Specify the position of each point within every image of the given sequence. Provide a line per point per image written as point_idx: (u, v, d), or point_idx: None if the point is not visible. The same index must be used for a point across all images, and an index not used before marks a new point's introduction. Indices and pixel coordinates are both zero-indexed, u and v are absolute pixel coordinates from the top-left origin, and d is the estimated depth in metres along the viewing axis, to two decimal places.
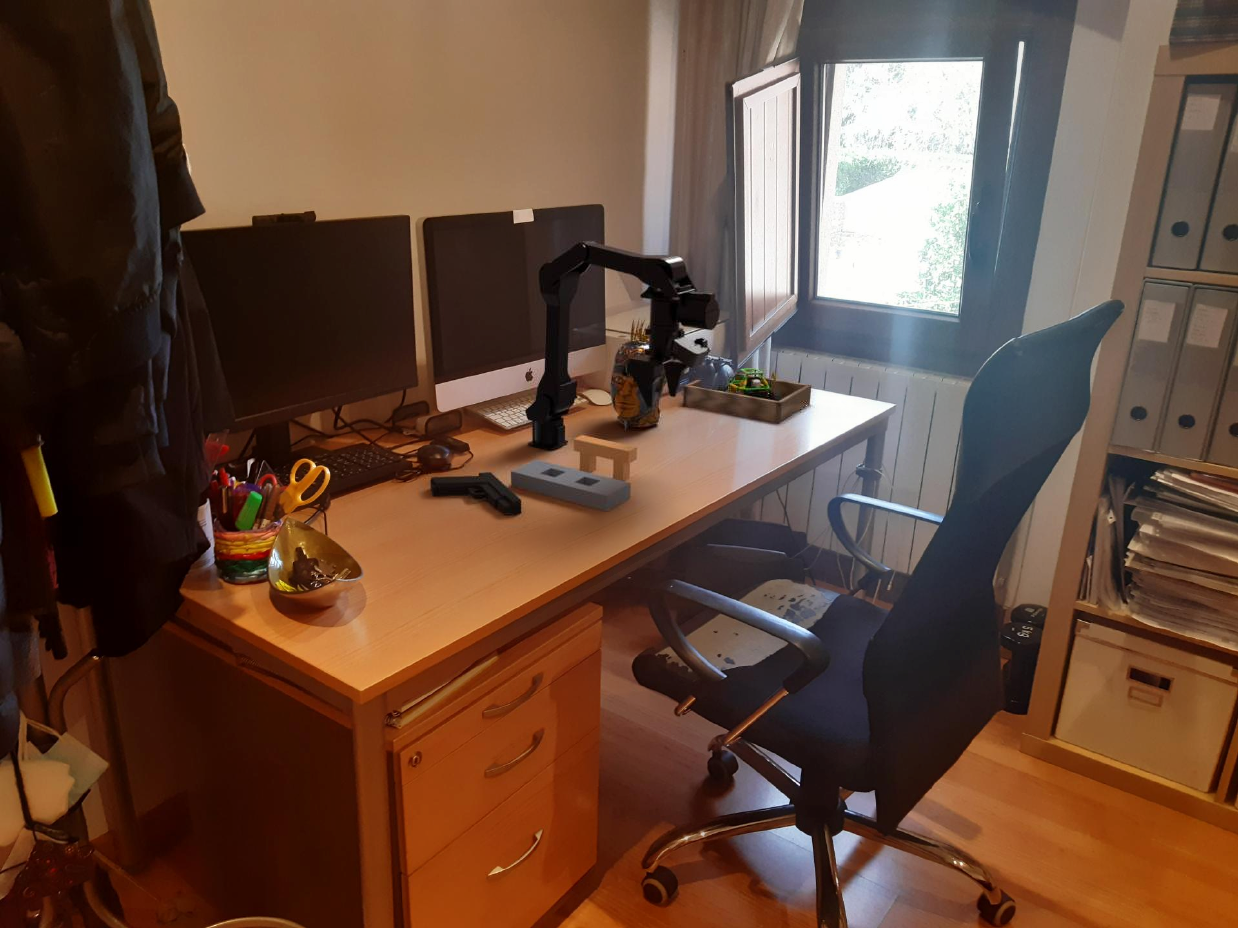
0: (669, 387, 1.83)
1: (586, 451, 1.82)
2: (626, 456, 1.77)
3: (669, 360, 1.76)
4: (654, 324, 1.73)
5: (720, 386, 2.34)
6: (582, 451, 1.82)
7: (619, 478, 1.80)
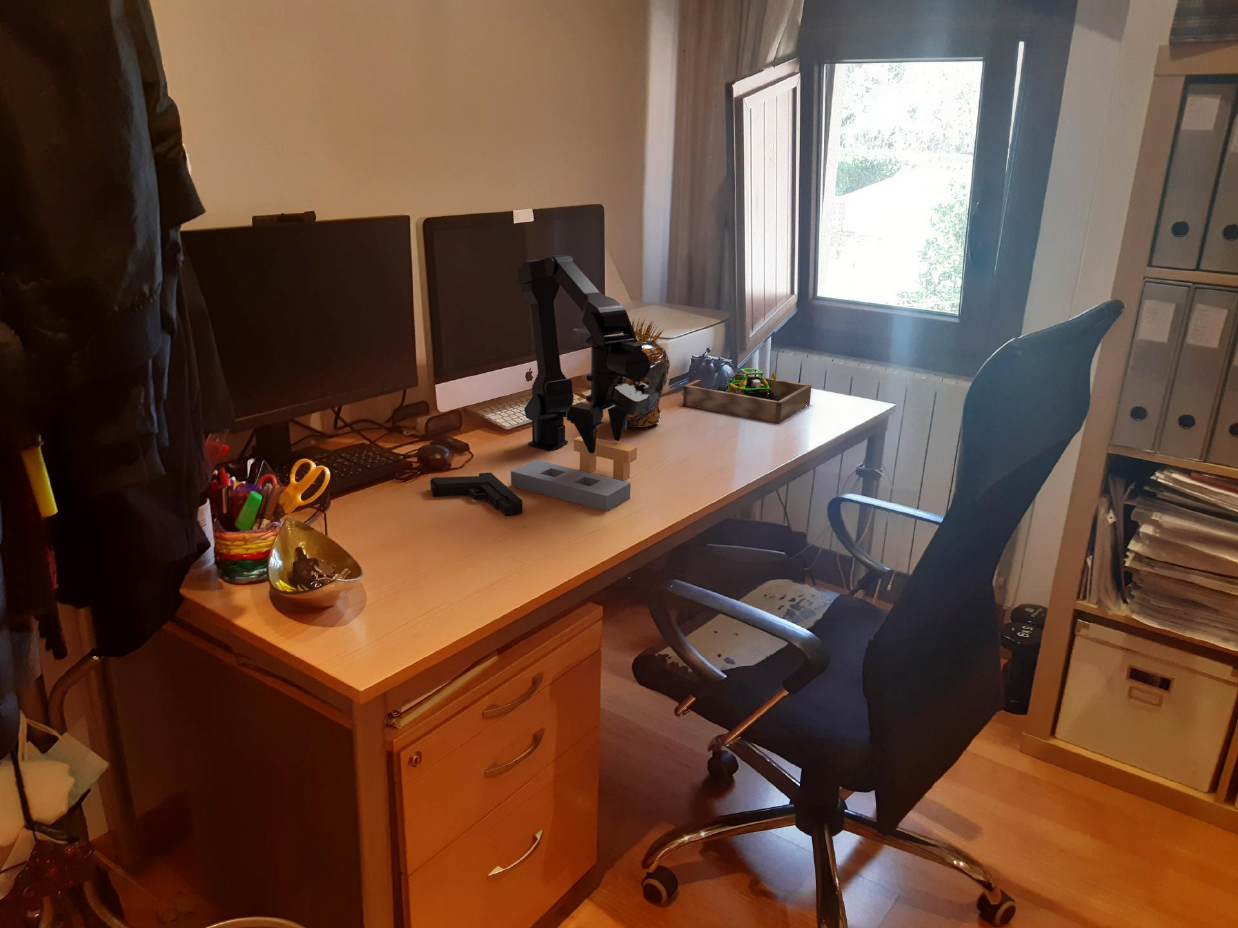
0: (613, 431, 1.84)
1: (586, 451, 1.82)
2: (626, 456, 1.77)
3: (611, 406, 1.77)
4: (595, 371, 1.74)
5: (720, 386, 2.34)
6: (582, 451, 1.82)
7: (619, 478, 1.80)
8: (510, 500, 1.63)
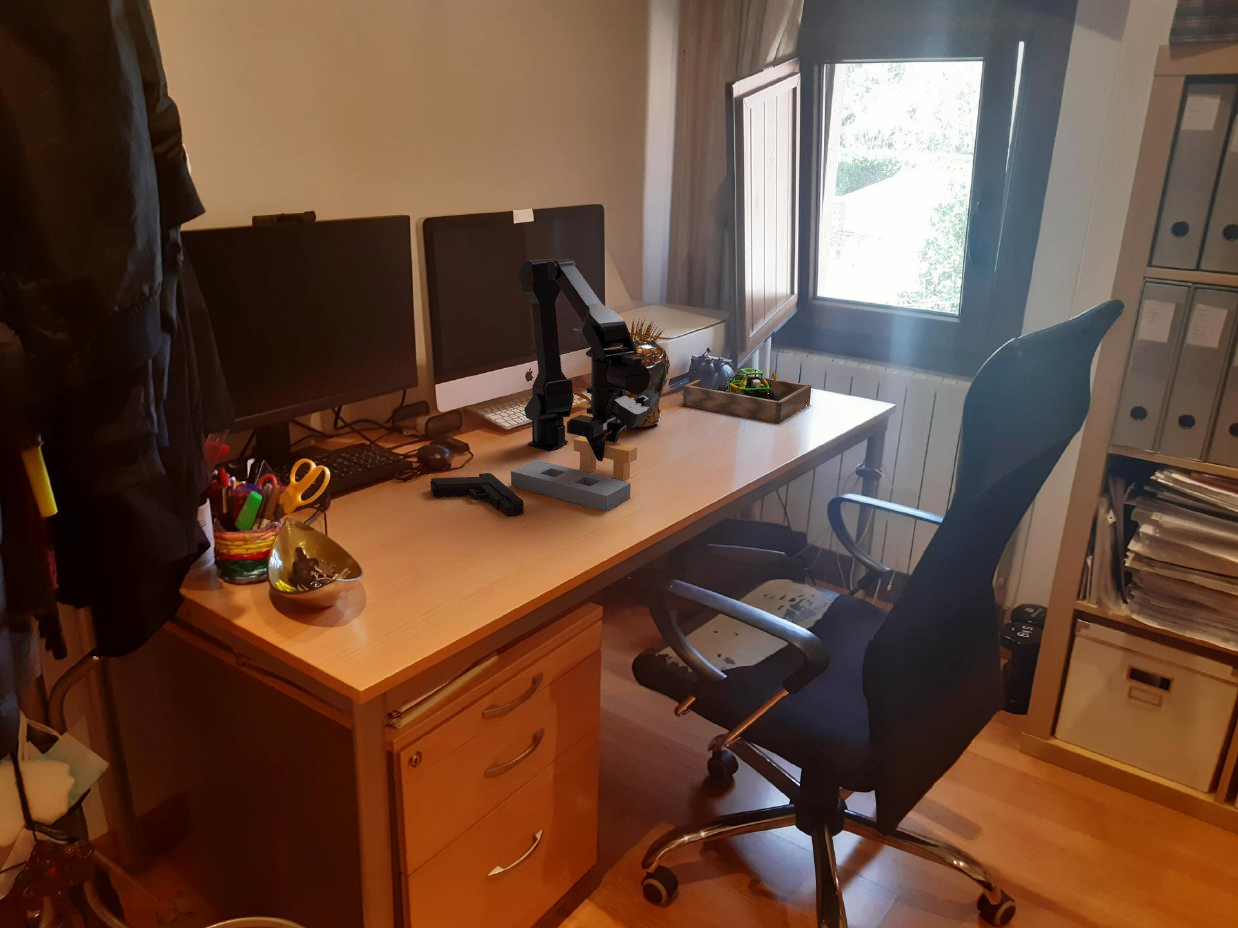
0: None
1: (586, 451, 1.82)
2: (627, 456, 1.77)
3: None
4: (595, 384, 1.75)
5: (720, 386, 2.34)
6: (582, 451, 1.82)
7: (620, 478, 1.80)
8: (511, 500, 1.63)
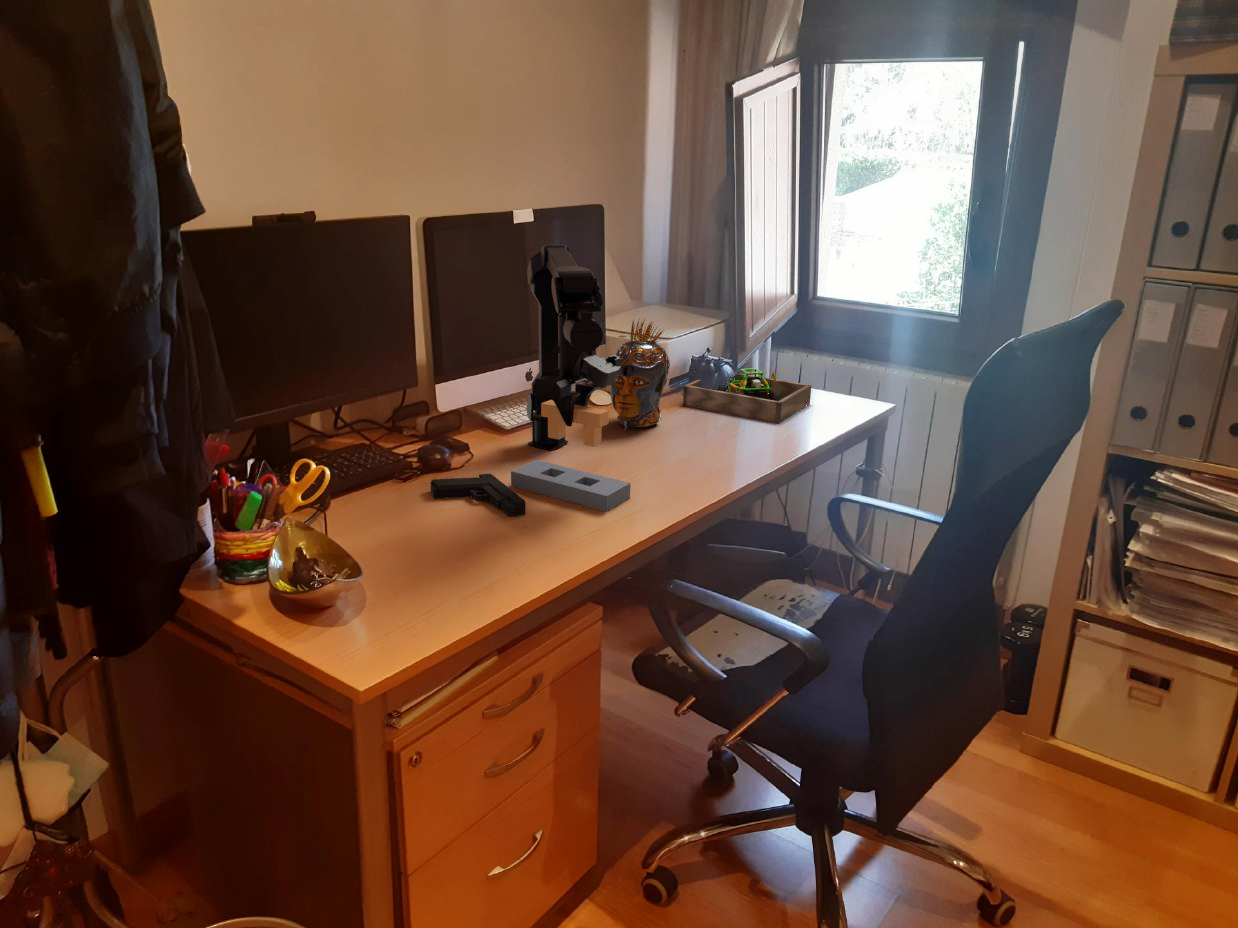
0: None
1: (555, 415, 1.69)
2: (597, 419, 1.64)
3: None
4: (562, 342, 1.62)
5: (720, 386, 2.34)
6: (550, 416, 1.70)
7: (590, 444, 1.67)
8: (513, 501, 1.63)
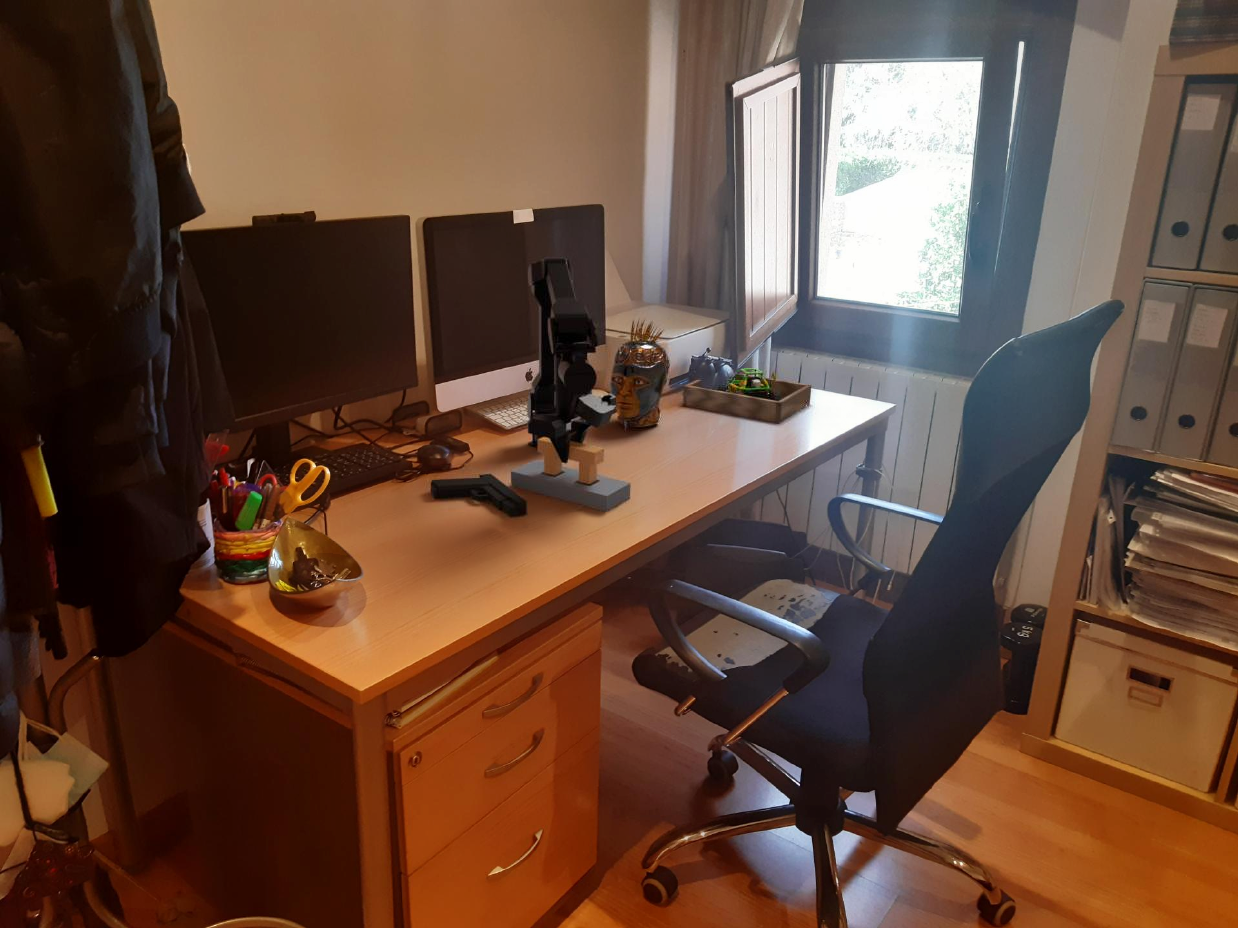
0: None
1: (551, 452, 1.71)
2: (592, 457, 1.66)
3: None
4: (558, 381, 1.64)
5: (720, 386, 2.34)
6: (546, 452, 1.72)
7: (585, 481, 1.69)
8: (514, 501, 1.63)
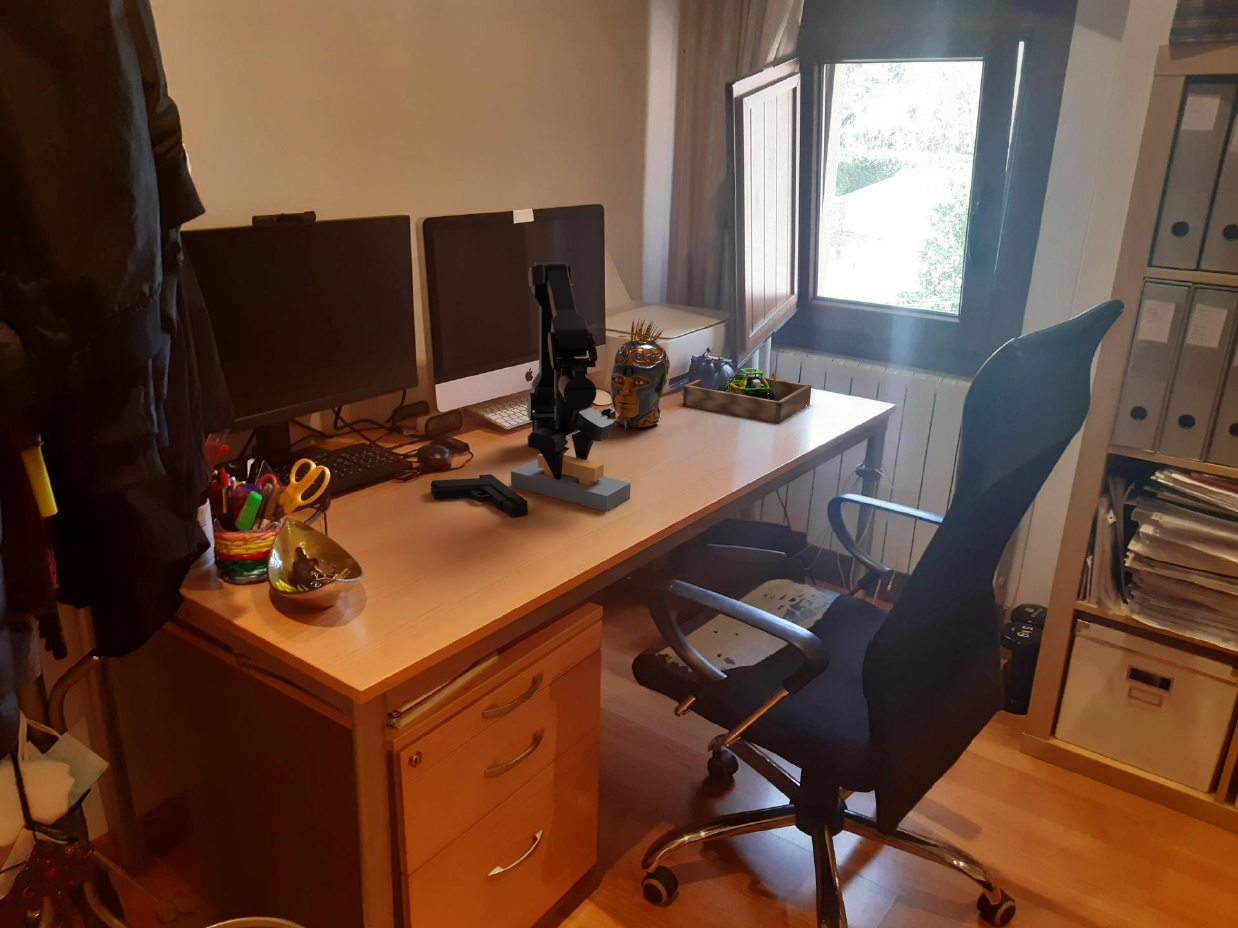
0: None
1: None
2: (592, 473, 1.67)
3: (578, 430, 1.68)
4: (558, 395, 1.65)
5: (720, 386, 2.34)
6: (547, 468, 1.73)
7: None
8: (515, 501, 1.63)
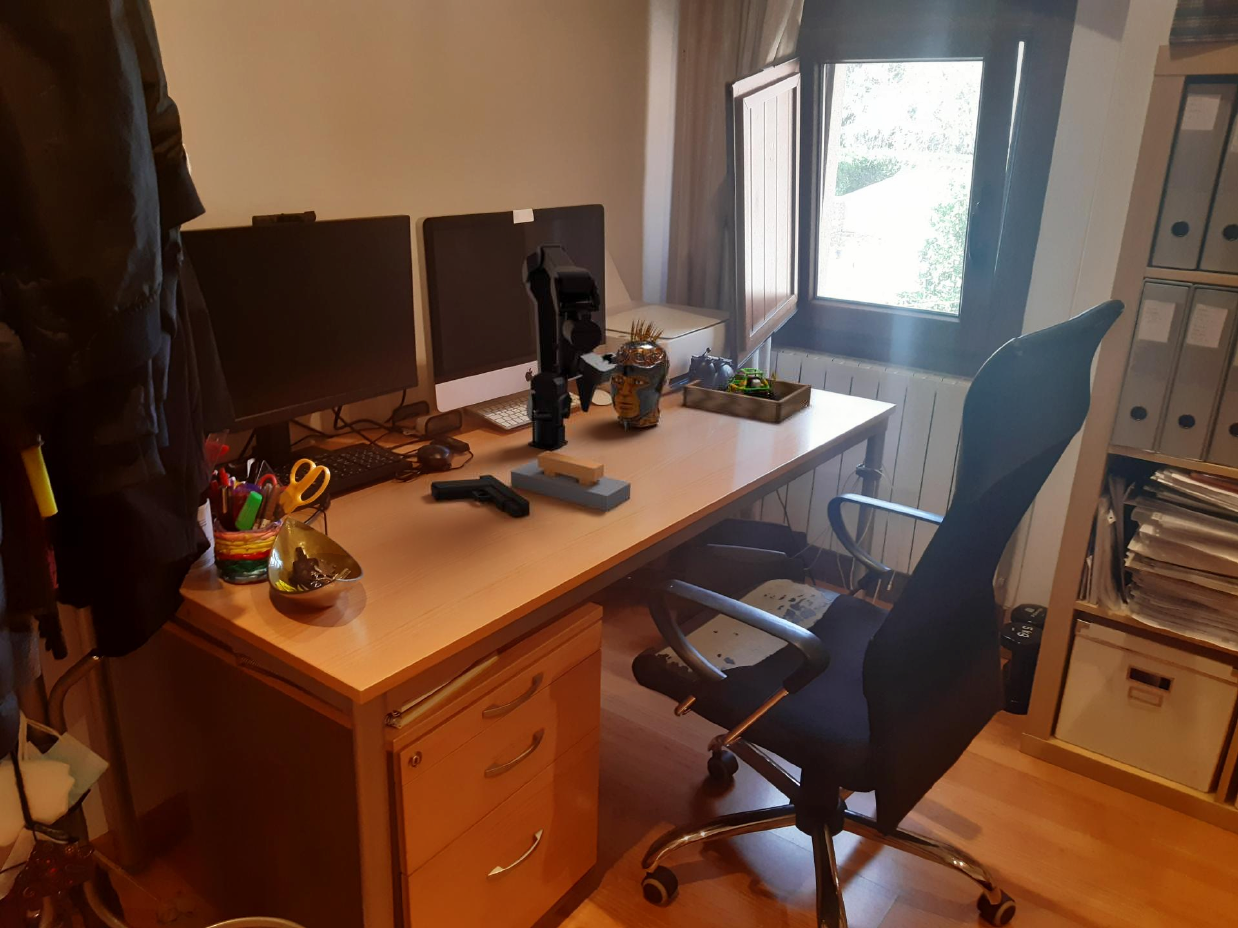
0: (581, 402, 1.79)
1: (551, 467, 1.72)
2: (592, 473, 1.67)
3: (577, 376, 1.71)
4: (560, 339, 1.68)
5: (720, 386, 2.34)
6: (547, 468, 1.73)
7: None
8: (517, 501, 1.62)
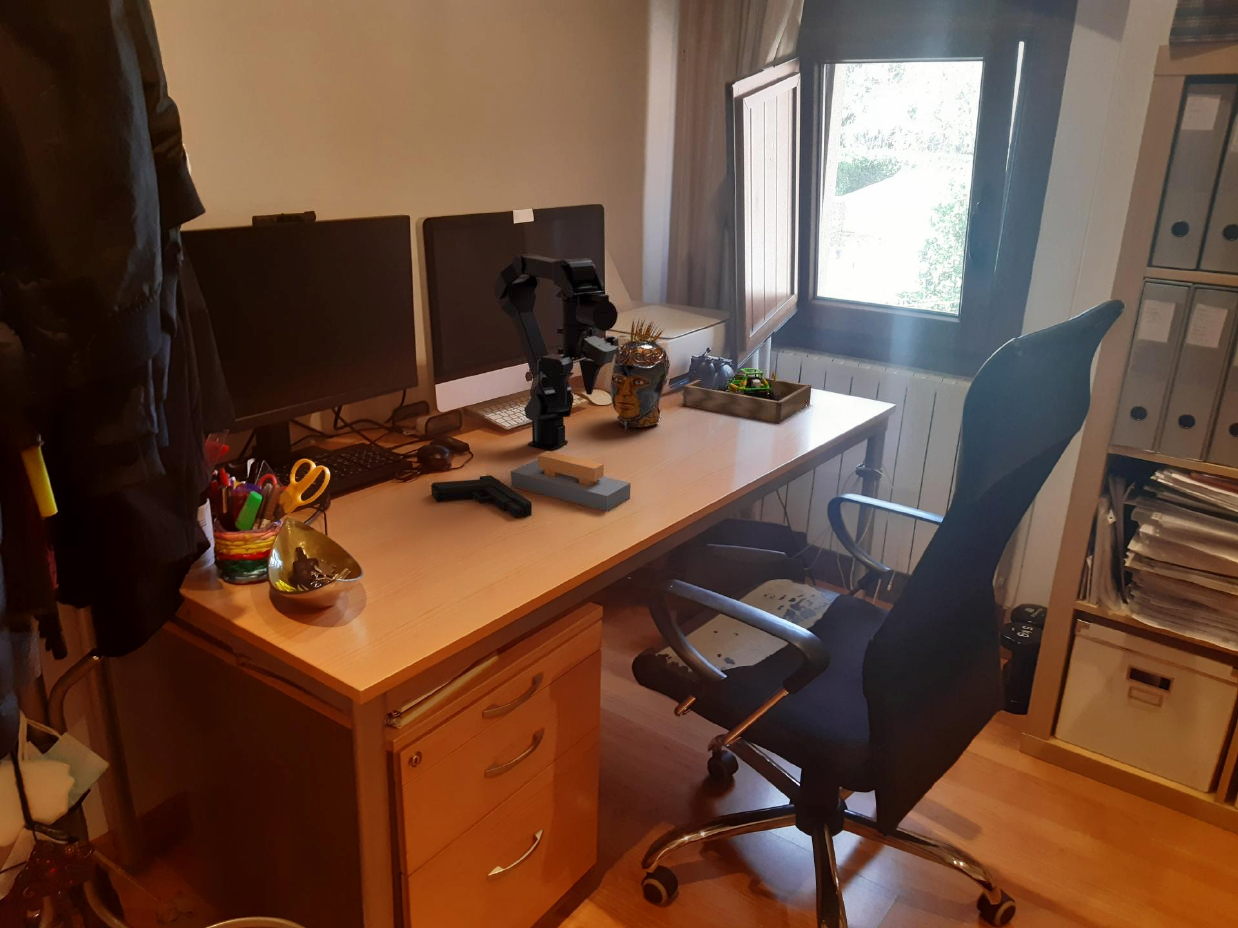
0: (585, 385, 1.90)
1: (551, 467, 1.72)
2: (592, 473, 1.67)
3: (581, 358, 1.82)
4: (565, 324, 1.79)
5: (720, 386, 2.34)
6: (547, 468, 1.73)
7: None
8: (519, 502, 1.62)
